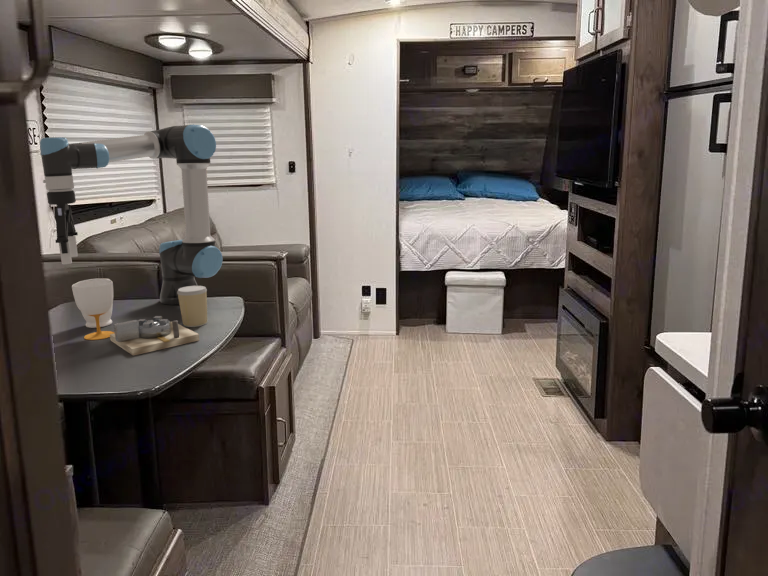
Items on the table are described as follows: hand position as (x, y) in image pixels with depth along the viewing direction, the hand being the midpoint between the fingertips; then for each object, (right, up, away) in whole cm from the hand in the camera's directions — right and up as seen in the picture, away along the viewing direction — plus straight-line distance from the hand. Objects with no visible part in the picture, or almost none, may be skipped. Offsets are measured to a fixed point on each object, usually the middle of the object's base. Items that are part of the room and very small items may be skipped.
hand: (70, 260), depth 199 cm
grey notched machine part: (+24, -23, -3) cm, 33 cm away
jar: (0, -21, +20) cm, 29 cm away
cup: (+6, -24, +7) cm, 25 cm away
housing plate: (+26, -24, 0) cm, 36 cm away
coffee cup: (+33, -20, +17) cm, 43 cm away
